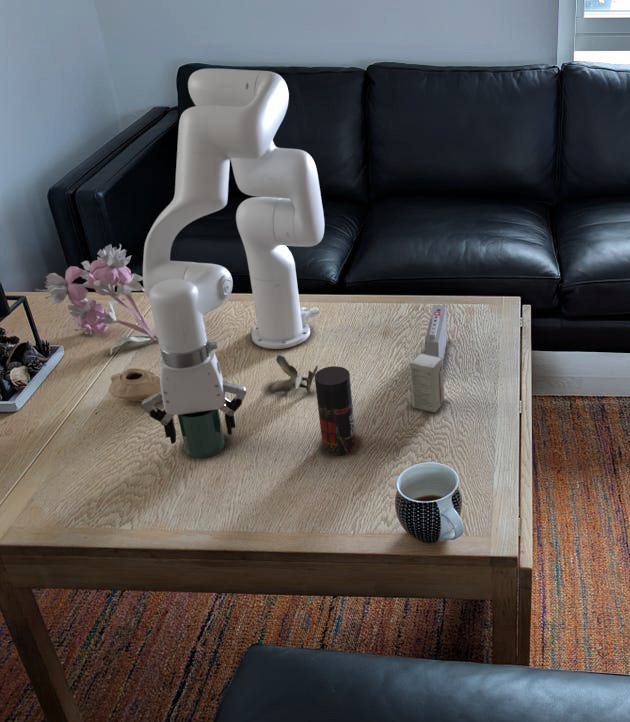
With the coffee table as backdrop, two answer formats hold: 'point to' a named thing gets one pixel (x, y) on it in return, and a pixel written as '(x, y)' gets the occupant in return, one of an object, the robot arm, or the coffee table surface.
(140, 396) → the pottery oil lamp
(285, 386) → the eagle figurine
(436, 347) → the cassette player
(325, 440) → the deodorant
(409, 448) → the coffee table surface
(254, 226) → the robot arm
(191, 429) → the pot
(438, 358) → the beige box
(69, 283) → the flower
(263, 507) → the coffee table surface
